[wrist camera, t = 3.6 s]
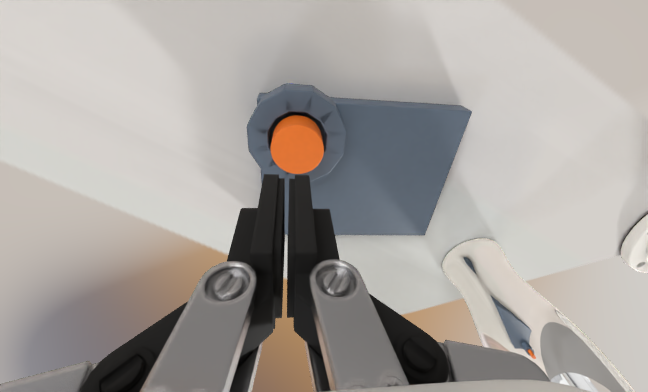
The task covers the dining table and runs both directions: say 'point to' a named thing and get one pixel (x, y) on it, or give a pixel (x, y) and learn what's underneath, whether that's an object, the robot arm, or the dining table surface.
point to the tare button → (297, 144)
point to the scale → (366, 156)
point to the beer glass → (526, 319)
